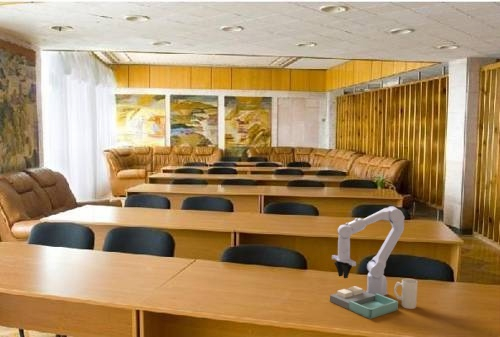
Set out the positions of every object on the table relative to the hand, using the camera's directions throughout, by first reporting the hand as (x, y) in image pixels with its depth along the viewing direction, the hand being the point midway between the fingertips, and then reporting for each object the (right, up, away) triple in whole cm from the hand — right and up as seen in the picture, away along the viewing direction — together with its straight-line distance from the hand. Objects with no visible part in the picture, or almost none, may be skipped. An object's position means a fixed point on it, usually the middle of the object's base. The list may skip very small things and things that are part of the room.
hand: (343, 277), depth 231 cm
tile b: (-1, -6, -10) cm, 12 cm away
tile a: (+4, -6, -6) cm, 10 cm away
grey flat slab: (+3, -9, -9) cm, 14 cm away
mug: (+25, -10, -15) cm, 31 cm away
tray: (+10, -10, -20) cm, 24 cm away
